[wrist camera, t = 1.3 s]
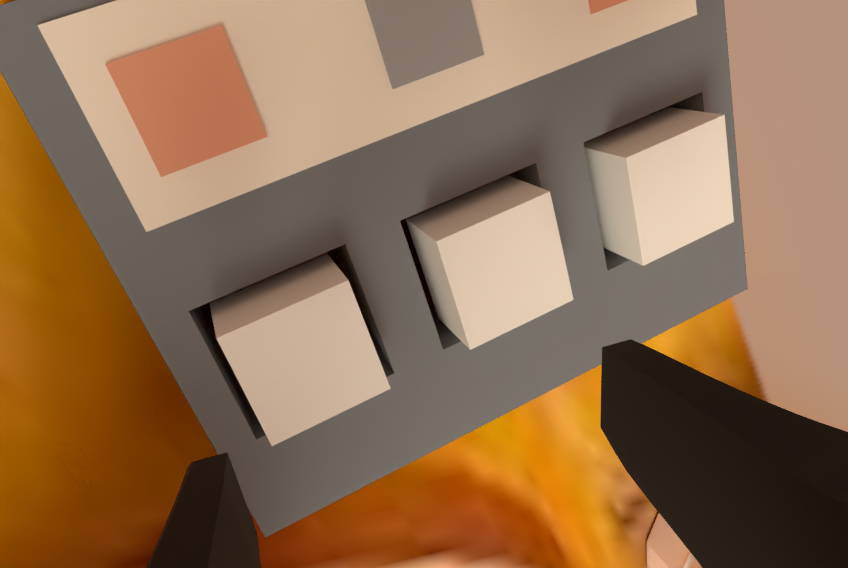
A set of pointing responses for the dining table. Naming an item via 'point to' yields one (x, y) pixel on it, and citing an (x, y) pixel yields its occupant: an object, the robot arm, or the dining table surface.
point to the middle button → (492, 259)
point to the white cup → (667, 548)
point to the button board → (363, 187)
